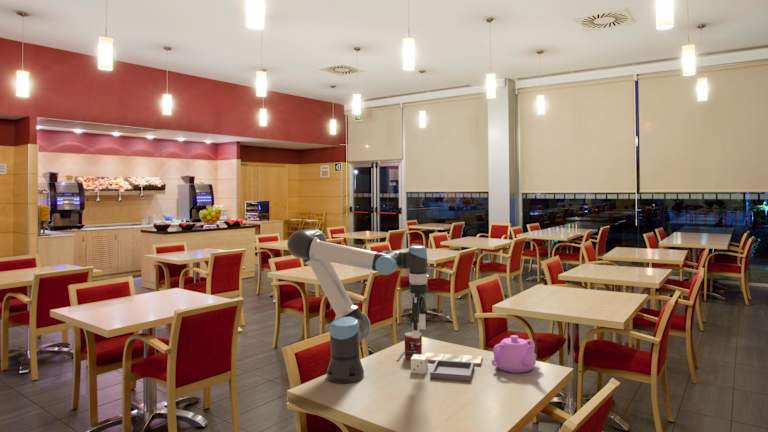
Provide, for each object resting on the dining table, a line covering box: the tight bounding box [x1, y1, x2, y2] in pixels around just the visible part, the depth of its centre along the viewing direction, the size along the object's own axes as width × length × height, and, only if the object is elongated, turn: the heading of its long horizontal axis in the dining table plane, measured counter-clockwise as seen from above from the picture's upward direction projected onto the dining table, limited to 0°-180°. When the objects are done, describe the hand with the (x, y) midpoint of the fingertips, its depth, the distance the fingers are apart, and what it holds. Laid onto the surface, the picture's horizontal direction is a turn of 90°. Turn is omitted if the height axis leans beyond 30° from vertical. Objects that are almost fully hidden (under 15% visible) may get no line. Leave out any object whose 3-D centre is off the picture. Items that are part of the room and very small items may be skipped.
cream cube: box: [410, 354, 429, 374], centre depth 216 cm, size 6×6×6 cm
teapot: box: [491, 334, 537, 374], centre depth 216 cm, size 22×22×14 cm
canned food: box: [404, 331, 423, 361], centre depth 233 cm, size 8×8×11 cm
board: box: [396, 351, 483, 367], centre depth 230 cm, size 37×13×1 cm, turn 75°
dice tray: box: [429, 360, 475, 382], centre depth 213 cm, size 16×16×2 cm
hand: (419, 333), depth 216 cm, fingers open, 13 cm apart
